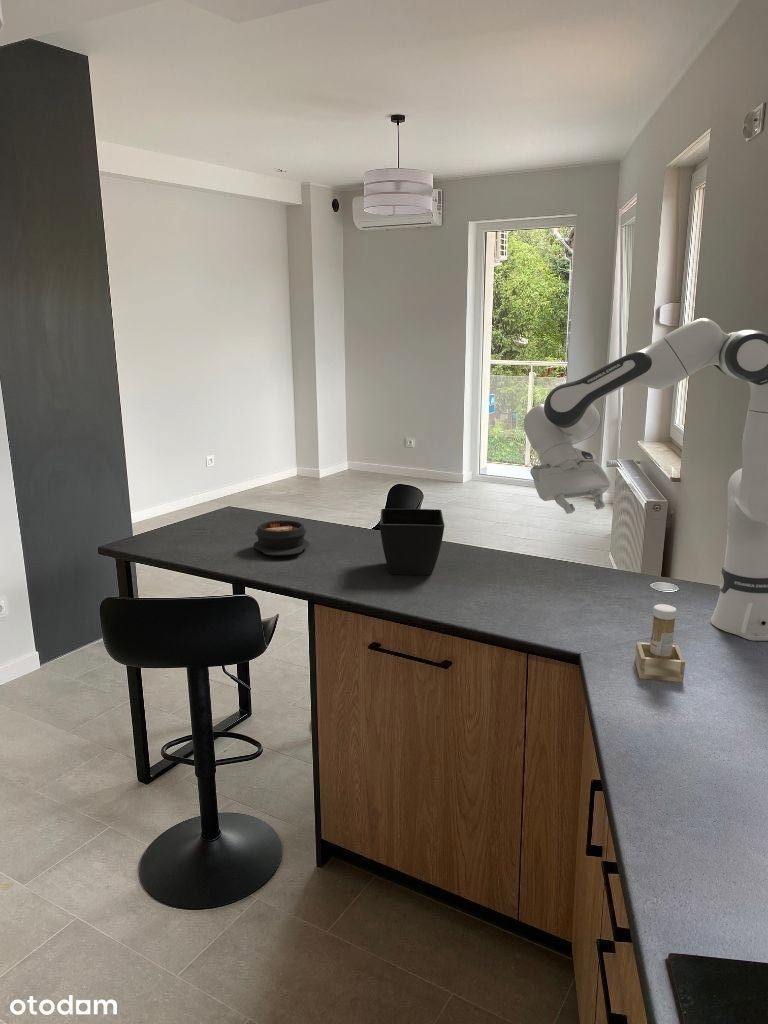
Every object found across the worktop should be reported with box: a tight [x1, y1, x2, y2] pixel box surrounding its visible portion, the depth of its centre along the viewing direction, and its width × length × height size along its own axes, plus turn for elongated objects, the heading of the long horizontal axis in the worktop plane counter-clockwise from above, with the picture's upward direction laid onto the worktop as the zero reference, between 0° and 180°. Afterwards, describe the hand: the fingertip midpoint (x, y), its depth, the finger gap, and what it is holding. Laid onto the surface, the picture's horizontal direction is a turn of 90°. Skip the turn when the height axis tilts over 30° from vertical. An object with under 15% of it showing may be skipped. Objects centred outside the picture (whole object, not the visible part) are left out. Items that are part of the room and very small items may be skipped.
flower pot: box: [379, 508, 446, 576], centre depth 222 cm, size 19×19×17 cm
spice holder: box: [634, 641, 686, 683], centre depth 155 cm, size 9×9×4 cm
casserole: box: [252, 520, 310, 557], centre depth 243 cm, size 25×19×8 cm
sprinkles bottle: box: [649, 603, 678, 659], centre depth 154 cm, size 5×5×13 cm
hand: (586, 510), depth 173 cm, fingers open, 8 cm apart
